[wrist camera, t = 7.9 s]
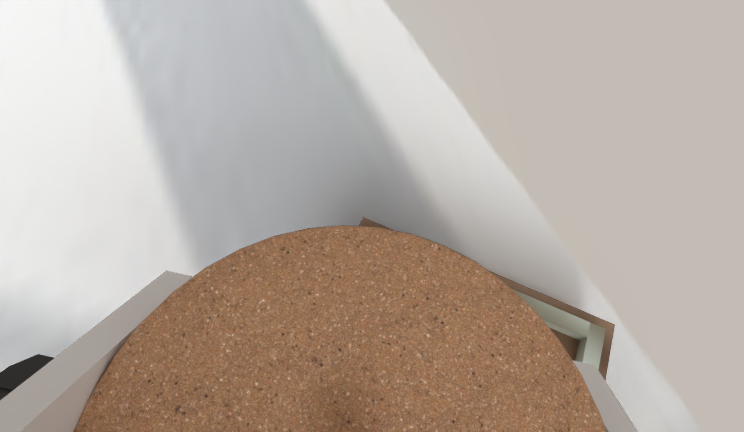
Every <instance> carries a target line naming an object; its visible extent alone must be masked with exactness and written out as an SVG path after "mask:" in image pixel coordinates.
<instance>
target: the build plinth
mask: <svg viewBox="0 0 744 432" xmlns="http://www.w3.org/2000/svg"><path fill="white" fill-rule="evenodd" d="M359 226H364V227H379V228H384V229H389V228H387V227H385V226H382V225H380V224H378V223H375V222H373V221H371V220H368V219H366V218H364V217H363V219H362V221H361V223H360V225H359ZM389 230H392V229H389ZM489 272H490V271H489ZM491 273H492V272H491ZM492 274H493V275H495V276H496V277H498V278H499V279H501V280H502V281H503V282H505V283H506V284H507V285H508V286H509V287H510V288H511V289H512V290H514V291H515V292H516V293H517V294H518V295H519V296H520V297H521V298H522V299H523V300H524V301H526V302H527V303H528V304H529V305H530V306H531V307H532V308H533V309H534V310H535V311H536V313H537V314H538V315H539V316H540V317H541V319H542V320H543V321H544V322H545V323H546V325H547V326H548V327H549V328H550V329H551V331H552V332H553V333H554V334H555V335H556V336H557V338H558V339H559V340H560V342H561V344H562V345H563V347H564V348H565V350H566V351H567V353H568V354H569V356H570V358H571V359H572V360H573V361H578V362H583V363H587V364H592V365H595V366H596V367H597V369H598V371H599V372H600V374H601V375H602V377H603V378H604V380H605V379H606V373H607V367H608V361H609V355H610V349H611V344H612V338H613V332H614V326H615V325H614V324H612V323H609V322H607V321H605V320H602V319H600V318H598V317H595V316H593V315H591V314H588V313H586V312H584V311H581V310H579V309H577V308H574V307H572V306H570V305H567V304H565V303H563V302H560V301H558V300H556V299H553V298H551V297H549V296H546V295H544V294H542V293H539V292H537V291H535V290H532V289H530V288H527V287H525V286H523V285H520V284H518V283H516V282H513V281H511V280H509V279H506V278H504V277H502V276H499V275H497V274H495V273H492Z"/></svg>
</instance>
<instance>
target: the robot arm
mask: <svg viewBox="0 0 744 432" xmlns="http://www.w3.org/2000/svg"><path fill="white" fill-rule="evenodd" d="M191 278H192V276H187V275H183V274H178V273H174V272H169V271H165V272H164V273H163V274H162V275H160V276H159V277H158V278H157V279H155V280H154V281H153V282H151V283H150V284H149V285H148V286H146V287H145V288H144V289H142V290H141V291H140V292H139V293H137V294H136V295H135V296H133V297H132V298H131V299H130V300H128V301H127V302H126V303H124V304H123V305H122V306H121V307H119V308H118V309H117V310H116V311H114V312H113V313H112V314H110V315H109V316H108V317H107V318H105V319H104V320H103V321H101V322H100V323H99V324H98V325H96V326H95V327H94V328H92V329H91V330H90V331H89V332H87V333H86V334H85V335H83V336H82V337H81V338H80V339H78V340H77V341H76V342H74V343H73V344H72V345H71V346H69V347H68V348H67V349H66V350H64V351H63V352H62V353H60V354H59V355H58V356H57V357H55V358H53V357H48V356H44V355H39V354H38V355H35V356H33V357H30V358H28V359H26V360H23V361H21V362H19V363H16V364H14V365H12V366H9V367H8V368H6V369H5V370H3V371H2V372H1V373H0V432H74V430H75V428H76V426H77V424H78V421H79V419H80V417H81V415H82V412H83V410H84V408H85V406H86V404H87V401H88V399H89V397H90V396H91V394H92V392H93V391H94V389H95V387H96V385H97V384H98V382H99V380H100V378H101V377H102V375H103V373H104V372H105V370H106V368H107V367H108V365H109V364H110V362H111V360H112V359H113V357H114V356H115V355H116V353H117V352H118V351H119V350H120V348H121V347H122V346H123V345H124V343H125V342H126V341H127V340H128V338H129V337H130V336H131V335H132V333H133V332H134V331H135V330H136V328H137V327H138V326H139V325H140V323H141V322H142V321H143V320H144V319H145V318H146V317H147V316H148V315H149V314H150V313H151V312H152V311H154V310H155V309H156V308H157V307H158V306H159V305H160V304H161V303H162V302H163V301H164V300H165V299H166V298H167V297H168V296H169V295H170V294H171V293H172V292H173V291H175V290H176V289H178V288H179V287H180V286H182V285H183V284H184V283H186V282H187V281H188V280H190V279H191ZM572 361H573V360H572ZM573 362H574V364H575V365H576V367H577V368H578V370H579V372H580V373H581V375H582V377H583V379H584V381H585V383H586V385H587V387H588V389H589V392H590V394H591V396H592V398H593V400H594V402H595V404H596V406H597V408H598V410H599V413H600V415H601V417H602V420H603V423H604V426H605V429H606V432H638V431H637V430H636V428H635V427H634V425H633V423H632V422H631V420H630V419H629V417H628V416H627V414H626V413H625V411H624V409H623V408H622V406H621V405H620V403H619V402H618V400H617V399H616V397H615V395H614V394H613V392H612V391H611V389H610V388H609V386H608V385H607V383H606V381H605V380H604V378H603V377H602V375H601V374H600V372H599V371H598V369H597V367H596V366H595V365H592V364H587V363H583V362H578V361H573Z"/></svg>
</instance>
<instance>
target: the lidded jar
mask: <svg viewBox="0 0 744 432" xmlns="http://www.w3.org/2000/svg"><path fill="white" fill-rule="evenodd" d="M74 432H606V429H605V426H604V423H603V420H602V417H601V415H600V413H599V410H598V408H597V406H596V404H595V402H594V400H593V398H592V396H591V394H590V392H589V389H588V387H587V385H586V383H585V381H584V379H583V377H582V375H581V373H580V372H579V370H578V368H577V367H576V365H575V364H574V362H573V361H572V359H571V358H570V356H569V354H568V353H567V351H566V350H565V348H564V347H563V345H562V344H561V342H560V340H559V339H558V338H557V336H556V335H555V334H554V333H553V332H552V331H551V329H550V328H549V327H548V326H547V325H546V323H545V322H544V321H543V320H542V319H541V317H540V316H539V315H538V314H537V313H536V311H535V310H534V309H533V308H532V307H531V306H530V305H529V304H528V303H527V302H526V301H524V300H523V299H522V298H521V297H520V296H519V295H518V294H517V293H516V292H515V291H514V290H512V289H511V288H510V287H509V286H508V285H507V284H506V283H505V282H503V281H502V280H501V279H499V278H498V277H496V276H495V275H493V274H492V273H491V272H489V271H488V270H486V269H485V268H483V267H482V266H481V265H479V264H478V263H476V262H475V261H473V260H471V259H469V258H467V257H465V256H463V255H461V254H459V253H457V252H455V251H453V250H452V249H450V248H448V247H446V246H444V245H441V244H438V243H435V242H432V241H430V240H427V239H424V238H421V237H418V236H415V235H412V234H409V233H404V232H399V231H394V230H389V229H384V228H379V227H364V226H346V225H341V226H329V227H318V228H308V229H303V230H299V231H295V232H290V233H286V234H281V235H277V236H273V237H271V238H268V239H265V240H263V241H260V242H257V243H255V244H252V245H250V246H247V247H244V248H242V249H239V250H237V251H236V252H234V253H232V254H230V255H228V256H226V257H225V258H223V259H221V260H219V261H217V262H215V263H214V264H212V265H210V266H208V267H206V268H205V269H203V270H202V271H201V272H199V273H198V274H197V275H195V276H194V277H193V278H191V279H190V280H188V281H187V282H186V283H184V284H183V285H182V286H180V287H179V288H178V289H176V290H175V291H173V292H172V293H171V294H170V295H169V296H168V297H167V298H166V299H165V300H164V301H163V302H162V303H161V304H160V305H159V306H158V307H157V308H156V309H155V310H154V311H152V312H151V313H150V314H149V315H148V316H147V317H146V318H145V319H144V320H143V321H142V322H141V323H140V325H139V326H138V327H137V328H136V330H135V331H134V332H133V333H132V335H131V336H130V337H129V338H128V340H127V341H126V342H125V343H124V345H123V346H122V347H121V348H120V350H119V351H118V352H117V353H116V355H115V356H114V357H113V359H112V360H111V362H110V364H109V365H108V367H107V368H106V370H105V372H104V373H103V375H102V377H101V378H100V380H99V382H98V384H97V385H96V387H95V389H94V391H93V392H92V394H91V396H90V397H89V399H88V401H87V404H86V406H85V408H84V410H83V412H82V415H81V417H80V419H79V421H78V424H77V426H76V428H75V430H74Z"/></svg>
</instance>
